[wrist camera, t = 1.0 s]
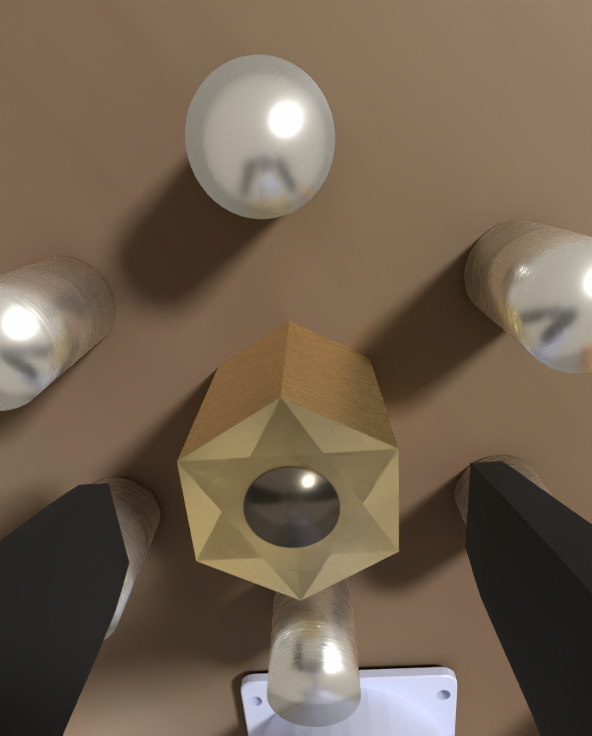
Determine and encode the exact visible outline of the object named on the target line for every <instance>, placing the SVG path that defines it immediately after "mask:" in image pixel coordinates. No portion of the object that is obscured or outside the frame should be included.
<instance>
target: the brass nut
mask: <svg viewBox="0 0 592 736" xmlns="http://www.w3.org/2000/svg"><path fill="white" fill-rule="evenodd" d="M177 464H178V470H179V475H180V480H181V485H182V490H183V495H184V500H185V506H186V511H187V516H188V521H189V526H190V531H191V536H192V542H193V547H194V552H195V557H196V561H197V562H200V563H203V564H205V565H208V566H211V567H213V568H216V569H218V570H221V571H224V572H226V573H229V574H232V575H234V576H237V577H240V578H242V579H245V580H248V581H250V582H253V583H256V584H258V585H261V586H264V587H266V588H269V589H271V590H274V591H277V592H279V593H282V594H285V595H287V596H290V597H293V598H295V599H298V600H303V599H305V598H307V597H309V596H311V595H313V594H315V593H317V592H319V591H321V590H323V589H325V588H327V587H329V586H331V585H333V584H335V583H337V582H339V581H341V580H343V579H345V578H347V577H349V576H351V575H353V574H355V573H357V572H359V571H361V570H363V569H365V568H367V567H369V566H371V565H373V564H375V563H377V562H379V561H381V560H383V559H385V558H387V557H389V556H391V555H393V554H395V553H397V552H399V470H398V446H397V443H396V440H395V436H394V433H393V430H392V427H391V424H390V421H389V418H388V414H387V411H386V408H385V405H384V402H383V399H382V395H381V392H380V389H379V386H378V383H377V380H376V376H375V373H374V370H373V367H372V364H371V361H370V358H369V357H367V356H364V355H362V354H360V353H358V352H356V351H354V350H351V349H349V348H347V347H345V346H343V345H341V344H338V343H336V342H334V341H332V340H330V339H328V338H326V337H323V336H321V335H319V334H317V333H315V332H313V331H310V330H308V329H306V328H304V327H302V326H300V325H297V324H295V323H293V322H291V321H288V322H287V323H285V324H284V325H282V326H281V327H279V328H278V329H276V330H275V331H273V332H272V333H270V334H269V335H267V336H266V337H264V338H263V339H261V340H260V341H258V342H257V343H255V344H253V345H252V346H250V347H249V348H247V349H246V350H244V351H243V352H241V353H240V354H238V355H237V356H235V357H234V358H232V359H231V360H229V361H228V362H226V363H225V364H223V365H222V366H220V367H219V368H218V369H217V371H216V373H215V375H214V378H213V380H212V382H211V385H210V387H209V389H208V392H207V394H206V396H205V398H204V401H203V403H202V405H201V408H200V410H199V412H198V414H197V417H196V419H195V421H194V424H193V426H192V428H191V430H190V433H189V435H188V437H187V440H186V442H185V444H184V447H183V449H182V451H181V453H180V456H179V458H178V460H177Z"/></svg>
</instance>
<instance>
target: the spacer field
mask: <svg viewBox="0 0 592 736" xmlns="http://www.w3.org/2000/svg"><path fill="white" fill-rule="evenodd" d="M185 142H186V150H187V155H188V159H189V162H190V165H191V168H192V171H193V173H194V175H195V177H196V179H197V180H198V182H199V183H200V185H201V187H202V188H203V189H204V190H205V192H206V193H207V194H208V195H209V196H210V197H211V198H212V199H213V200H214V201H215V202H216V203H218V204H219V205H220V206H222V207H223V208H225V209H227V210H229V211H230V212H232V213H235V214H237V215H240V216H243V217H247V218H253V219H271V218H277V217H280V216H284V215H287V214H289V213H291V212H293V211H295V210H297V209H298V208H300V207H302V206H303V205H304V204H306V203H307V202H308V201H309V200H310V199H311V198H312V197H313V196H314V195H315V194H316V193H317V191H318V190H319V189H320V187H321V186H322V184H323V182H324V181H325V179H326V177H327V175H328V172H329V170H330V167H331V164H332V160H333V156H334V149H335V129H334V122H333V118H332V114H331V111H330V108H329V105H328V103H327V101H326V99H325V97H324V95H323V93H322V91H321V90H320V89H319V87H318V86H317V84H316V83H315V82H314V81H313V80H312V79H311V77H310V76H309V75H307V74H306V73H305V72H304V71H303V70H302V69H300V68H299V67H297V66H295V65H294V64H292V63H290V62H288V61H286V60H284V59H281V58H277V57H274V56H268V55H248V56H242V57H239V58H236V59H233V60H231V61H229V62H227V63H225V64H223V65H221V66H220V67H218V68H217V69H216V70H214V71H213V72H212V73H211V74H210V75H209V76H208V77H207V78H206V79H205V80H204V82H203V83H202V84H201V85H200V87H199V88H198V90H197V92H196V93H195V95H194V97H193V100H192V102H191V104H190V107H189V111H188V114H187V119H186V126H185ZM464 283H465V288H466V291H467V293H468V296H469V298H470V299H471V301H472V302H473V303H474V304H475V305H476V306H477V307H478V308H479V309H480V310H481V311H482V312H484V313H485V314H486V315H487V316H488V317H489V318H491V319H492V320H493V321H494V322H495V323H496V324H498V325H499V326H500V327H501V328H502V329H503V330H505V331H506V332H507V333H508V334H509V335H510V336H512V337H513V338H514V339H515V340H516V341H517V342H519V343H520V344H521V345H522V346H523V347H524V348H526V349H527V350H528V351H529V352H530V353H531V354H533V355H534V356H535V357H536V358H537V359H538V360H540V361H541V362H542V363H543V364H545V365H547V366H548V367H550V368H552V369H555V370H557V371H561V372H565V373H572V374H584V373H592V237H590V236H587V235H583V234H579V233H575V232H571V231H568V230H564V229H560V228H556V227H552V226H549V225H545V224H541V223H537V222H534V221H529V220H514V221H509V222H505V223H503V224H500V225H498V226H496V227H494V228H492V229H491V230H489V231H488V232H487V233H485V234H484V235H483V236H482V237H481V238H480V239H479V240H478V241H477V242H476V244H475V245H474V247H473V248H472V250H471V252H470V254H469V256H468V258H467V261H466V265H465V270H464ZM115 313H116V306H115V300H114V296H113V293H112V291H111V288H110V287H109V285H108V283H107V282H106V280H105V279H104V278H103V276H102V275H101V274H100V273H99V272H98V271H97V270H95V269H94V268H93V267H91V266H90V265H89V264H87V263H85V262H83V261H81V260H78V259H75V258H71V257H65V256H56V257H50V258H47V259H44V260H41V261H38V262H36V263H33V264H30V265H28V266H25V267H22V268H19V269H17V270H14V271H11V272H9V273H6V274H3V275H1V276H0V411H4V410H11V409H15V408H18V407H21V406H23V405H25V404H27V403H28V402H30V401H31V400H32V399H33V398H35V397H36V396H37V395H38V394H39V393H40V392H42V391H43V390H44V389H45V388H46V387H47V386H48V385H50V384H51V383H52V382H53V381H54V380H55V379H57V378H58V377H59V376H60V375H61V374H62V373H64V372H65V371H66V370H67V369H68V368H69V367H70V366H72V365H73V364H74V363H75V362H76V361H77V360H79V359H80V358H81V357H82V356H83V355H84V354H86V353H87V352H88V351H89V350H90V349H91V348H92V347H94V346H95V345H96V344H97V343H98V342H99V341H101V340H102V339H103V338H104V337H105V336H106V335H107V334H108V333H109V331H110V329H111V328H112V325H113V323H114V319H115ZM494 461H503V462H504V463H506V464H507V465H509V466H510V467H512V468H513V469H515V470H516V471H518V472H519V473H520V474H522V475H523V476H525V477H526V478H527V479H529V480H530V481H531V482H533V483H534V484H536V485H537V486H538V487H540V488H541V489H542V490H544V491H545V492H547V493H548V494H549V495H551V493H550V492H549V491H548V489H547V488H546V487H545V485H544V484H543V483H542V481H541V480H540V478H539V477H538V476H537V474H536V473H535V472H534V470H533V469H532V468H531V467H530V466H529V465H528V464H527V463H526V462H524V461H523V460H521V459H518V458H516V457H512V456H505V455H498V456H491V457H487V458H484V459H481V460H479V461H477V462H494ZM475 463H476V462H475ZM469 477H470V467H468V468H467V469H466V470H465V471H464V472H463V473H462V475H461V476H460V478H459V479H458V481H457V484H456V487H455V501H456V504H457V507H458V509H459V511H460V514H461V516H462V518H463V520H464V523H465V525H466V527H467V511H468V494H469ZM103 483H109V486H110V490H111V494H112V498H113V502H114V505H115V509H116V513H117V517H118V521H119V525H120V528H121V532H122V536H123V540H124V544H125V548H126V551H127V555H128V559H129V566H128V570H127V573H126V577H125V581H124V585H123V588H122V592H121V595H120V598H119V602H118V605H117V608H116V612H115V614H114V616H113V619H112V621H111V624H110V626H109V629H108V631H107V633H106V636H105V638H104V640H105V639H106V638H108V637H109V636H110V635H111V634H112V633H113V632H114V630H115V629H116V627H117V625H118V622H119V620H120V617H121V615H122V612H123V610H124V607H125V605H126V603H127V600H128V598H129V595H130V593H131V590H132V588H133V586H134V583H135V581H136V578H137V576H138V573H139V571H140V569H141V566H142V564H143V561H144V559H145V556H146V554H147V551H148V549H149V547H150V544H151V542H152V539H153V537H154V534H155V532H156V530H157V527H158V525H159V522H160V517H161V512H160V507H159V504H158V502H157V500H156V498H155V497H154V495H153V494H152V493H151V492H150V491H149V490H148V489H147V488H146V487H144V486H143V485H141V484H139V483H138V482H135V481H133V480H130V479H126V478H120V477H111V478H105V479H101V480H99V481H97V482H95V483H93V484H103ZM551 496H552V495H551ZM552 497H553V496H552ZM267 700H268V703H269V705H270V707H271V708H272V710H273V711H274V712H275V713H276V714H277V715H278V716H280V717H281V718H283V719H284V720H286V721H288V722H291V723H293V724H297V725H301V726H307V727H323V726H329V725H333V724H336V723H339V722H341V721H343V720H345V719H346V718H348V717H349V716H350V715H352V714H353V713H354V712H355V710H356V709H357V708H358V706H359V704H360V700H361V687H360V677H359V667H358V658H357V648H356V638H355V628H354V618H353V608H352V598H351V588H350V579H349V577H347V578H345V579H343V580H341V581H339V582H337V583H335V584H333V585H331V586H329V587H327V588H325V589H323V590H321V591H319V592H317V593H315V594H313V595H311V596H309V597H307V598H305V599H303V600H298V599H295V598H293V597H290V596H287V595H285V594H282V593H279V592H277V591H274V604H273V617H272V630H271V643H270V656H269V669H268V683H267Z"/></svg>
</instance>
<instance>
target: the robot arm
mask: <svg viewBox="0 0 592 736" xmlns="http://www.w3.org/2000/svg"><path fill="white" fill-rule="evenodd" d="M466 550H467V553H468V557H469V560H470V564H471V567H472V571H473V574H474V577H475V580H476V584H477V587H478V590H479V593H480V596H481V598H482V601H483V603H484V606H485V608H486V610H487V613H488V615H489V617H490V619H491V622H492V624H493V626H494V629H495V631H496V633H497V636H498V638H499V640H500V642H501V645H502V647H503V649H504V652H505V654H506V656H507V658H508V661H509V663H510V665H511V667H512V670H513V672H514V674H515V676H516V679H517V681H518V683H519V686H520V688H521V690H522V692H523V695H524V697H525V699H526V701H527V704H528V706H529V708H530V710H531V713H532V715H533V718H534V720H535V723H536V725H537V728H538V730H539V733H540V735H541V736H592V524H591V523H589V522H588V521H586V520H585V519H583V518H582V517H580V516H579V515H578V514H576V513H575V512H573V511H572V510H570V509H569V508H568V507H566V506H565V505H563V504H562V503H561V502H559V501H558V500H556V499H555V498H554V497H552V496H551V495H549V494H548V493H547V492H545V491H544V490H542V489H541V488H540V487H538V486H537V485H536V484H534V483H533V482H531V481H530V480H529V479H527V478H526V477H525V476H523V475H522V474H520V473H519V472H518V471H516V470H515V469H513V468H512V467H510V466H509V465H507V464H506V463H504V462H503V461H494V462H476V463H470V477H469V494H468V511H467V528H466ZM128 566H129V559H128V555H127V551H126V548H125V544H124V540H123V536H122V532H121V528H120V525H119V521H118V517H117V513H116V509H115V505H114V502H113V498H112V494H111V490H110V486H109V483H103V484H86V485H78V486H77V487H75V488H73V489H72V490H70V491H69V492H67V493H66V494H64V495H63V496H61V497H60V498H58V499H57V500H56V501H54V502H53V503H51V504H50V505H49V506H47V507H46V508H44V509H43V510H42V511H40V512H39V513H38V514H36V515H35V516H34V517H32V518H31V519H29V520H28V521H27V522H25V523H24V524H23V525H21V526H20V527H18V528H17V529H16V530H14V531H13V532H12V533H10V534H9V535H7V536H6V537H5V538H3V539H2V540H1V541H0V736H63V733H64V731H65V728H66V726H67V724H68V722H69V719H70V717H71V715H72V712H73V710H74V708H75V705H76V703H77V701H78V698H79V696H80V694H81V691H82V689H83V687H84V685H85V682H86V680H87V678H88V675H89V673H90V671H91V668H92V666H93V664H94V661H95V659H96V657H97V654H98V652H99V650H100V647H101V645H102V643H103V640H104V638H105V636H106V633H107V631H108V629H109V626H110V624H111V621H112V619H113V616H114V614H115V612H116V608H117V605H118V602H119V598H120V595H121V592H122V588H123V585H124V581H125V577H126V573H127V570H128ZM359 677H360V687H361V700H360V704H359V706H358V708H357V709H356V710H355V712H354V713H353V714H352V715H350V716H349V717H348V718H346V719H345V720H343V721H341V722H339V723H336V724H333V725H329V726H323V727H307V726H301V725H297V724H293V723H291V722H288V721H286V720H284V719H283V718H281V717H280V716H278V715H277V714H276V713H275V712H274V711H273V710H272V708H271V707H270V705H269V703H268V700H267V683H268V673H262V674H250V675H247V676H246V677H244V678H243V680H242V684H241V696H242V702H243V708H244V714H245V719H246V725H247V731H248V736H454V735H455V717H456V699H457V680H456V677H455V673H454V672H453V671H452V670H451V669H449V668H447V667H425V668H398V669H371V670H359Z"/></svg>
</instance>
